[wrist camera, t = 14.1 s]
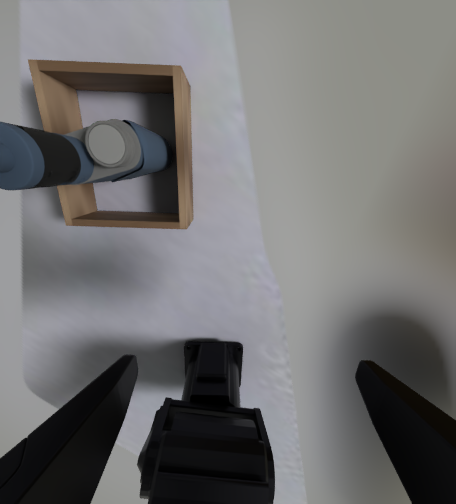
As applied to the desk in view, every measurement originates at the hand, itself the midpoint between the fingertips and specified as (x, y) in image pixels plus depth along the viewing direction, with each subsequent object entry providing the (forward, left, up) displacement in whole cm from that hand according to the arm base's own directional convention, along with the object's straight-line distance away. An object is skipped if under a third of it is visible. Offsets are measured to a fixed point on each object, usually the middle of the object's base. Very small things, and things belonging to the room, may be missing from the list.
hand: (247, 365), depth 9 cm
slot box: (+8, +9, -13) cm, 17 cm away
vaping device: (+8, +8, -13) cm, 17 cm away
